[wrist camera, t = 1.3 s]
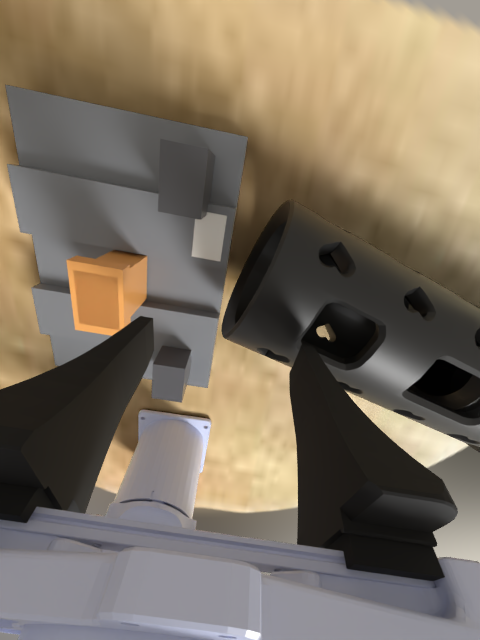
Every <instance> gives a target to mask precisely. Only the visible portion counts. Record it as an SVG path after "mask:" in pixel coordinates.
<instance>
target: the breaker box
mask: <svg viewBox="0 0 480 640" xmlns="http://www.w3.org/2000/svg"><path fill="white" fill-rule="evenodd" d="M5 86H6V92H7V97H8V103H9V109H10V114H11V120H12V125H13V131H14V137H15V142H16V148H17V153H18V159H19V165H12V164H7V167H8V172H9V177H10V182H11V187H12V192H13V197H14V203H15V208H16V213H17V218H18V223H19V228H20V232H22V233H28V234H32V237H33V243H34V249H35V254H36V260H37V265H38V271H39V277H40V282H41V283H40V284H38V285H36V286H34V287H32V288H31V289H32V294H33V299H34V304H35V309H36V314H37V319H38V324H39V329H40V334H47V335H50V338H51V344H52V349H53V355H54V360H55V365H57V366H61V365H63V364H65V363H67V362H69V361H71V360H73V359H75V358H77V357H78V356H80V355H82V354H84V353H86V352H87V351H89V350H91V349H92V348H94V347H95V346H97V345H99V344H100V343H102V342H103V341H105V340H106V339H108V338H109V337H111V336H110V335H104V334H98V333H92V332H85V331H79V330H75V325H74V317H73V309H72V301H71V293H70V285H69V277H68V269H67V261H66V260H67V259H70V258H72V257H75V256H82V257H88V258H94V259H96V258H98V257H100V256H102V255H104V254H106V253H108V252H110V251H112V250H117V251H123V252H128V253H134V254H139V255H145V256H147V299H146V300H145V301H144V302H143V303H142V305H141V306H140V307H139V308H138V309H137V310H136V311H135V313H134V314H133V315H132V316H131V322H132V321H134V320H135V319H137V318H138V317H139V316H144V317H150V318H153V328H154V352H153V354H152V357H151V360H150V362H149V365H148V367H147V370H146V371H145V373H144V375H143V377H142V378H144V379H151V380H152V398H155V399H161V400H168V401H175V402H182V400H183V396H184V393H185V389H186V386H187V385H191V386H198V387H204V388H208V383H209V377H210V371H211V365H212V359H213V353H214V347H215V340H216V334H217V328H218V322H219V316H220V309H221V303H222V297H223V291H224V285H225V278H226V272H227V266H228V260H229V254H230V247H231V241H232V235H233V229H234V223H235V216H236V210H237V204H238V198H239V192H240V186H241V179H242V173H243V167H244V161H245V155H246V148H247V142H248V137H246V136H241V135H236V134H232V133H227V132H222V131H218V130H213V129H208V128H204V127H199V126H195V125H190V124H185V123H181V122H176V121H171V120H167V119H162V118H158V117H153V116H148V115H144V114H139V113H134V112H130V111H125V110H121V109H116V108H111V107H107V106H102V105H97V104H93V103H88V102H84V101H79V100H74V99H70V98H65V97H60V96H56V95H51V94H47V93H42V92H37V91H33V90H28V89H23V88H19V87H14V86H9V85H5Z"/></svg>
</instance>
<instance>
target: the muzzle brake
mask: <svg viewBox="0 0 480 640" xmlns="http://www.w3.org/2000/svg"><path fill="white" fill-rule="evenodd" d="M322 325H325V327H326V329H327V332H328V334H329V337H330V340H329V341H328V339H327V338H326V337H319V336H318V334H317V332H316V329H317V327H319V326H322ZM222 335H223V337H224V338H225V339H227V340H230V341H232V342H234V343H236V344H239V345H241V346H243V347H246V348H248V349H250V350H253V351H255V352H257V353H260V354H262V355H265V356H267V357H269V358H271V359H273V360H276V361H278V362H280V363H283V364H285V365H287V366H289V367H293V364H294V362H295V359H296V357H297V355H298V352H299V350H300V347H301V345H306V346H311V347H314V348H315V349H316V351H317V352H318V354H319V355H320V357H321V358H322V360H323V361H324V363H325V364H326V366H327V367H328V369H329V370H330V372H331V373H332V374H333V376H334V377H335V379H336V380H337V381H338V383H339V384H340V385H341V387H342V388H343V389H344V390H345V391H347V392H349V393H352V394H354V395H356V396H359V397H361V398H363V399H366V400H368V401H370V402H372V403H375V404H377V405H379V406H382V407H384V408H386V409H389V410H391V411H394V412H396V413H398V414H400V415H402V416H405V417H407V418H409V419H412V420H414V421H416V422H419V423H421V424H423V425H426V426H428V427H430V428H432V429H435V430H437V431H439V432H442V433H444V434H447V435H449V436H451V437H453V438H455V439H458V440H460V441H462V442H465V443H466V444H468V445H469V446H471V447H472V448H473V449H475V450H476V451H478V452H480V308H479V307H477V306H475V305H473V304H471V303H469V302H467V301H465V300H464V299H462V298H461V297H459V296H458V295H456V294H455V293H453V292H452V291H450V290H448V289H446V288H445V287H443V286H441V285H439V284H438V283H436V282H434V281H433V280H431V279H429V278H427V277H426V276H424V275H422V274H420V273H419V272H416V271H414V270H412V269H410V268H408V267H406V266H405V265H403V264H401V263H400V262H398V261H397V260H395V259H394V258H392V257H391V256H389V255H388V254H386V253H384V252H382V251H381V250H379V249H377V248H375V247H374V246H372V245H370V244H369V243H367V242H365V241H363V240H362V239H360V238H358V237H356V236H355V235H353V234H351V233H349V232H347V231H345V230H342V229H341V228H339V227H338V226H336V225H334V224H332V223H330V222H328V221H327V220H325V219H324V218H322V217H321V216H320V215H318V214H317V213H315V212H313V211H311V210H310V209H308V208H306V207H305V206H303V205H301V204H299V203H298V202H296V201H294V200H288V201H286V202H285V203H283V204H282V205H281V206H280V207H279V209H278V210H277V211H276V212H275V214H274V215H273V216H272V218H271V219H270V221H269V222H268V224H267V225H266V227H265V228H264V230H263V232H262V233H261V235H260V237H259V239H258V240H257V242H256V244H255V246H254V248H253V250H252V252H251V254H250V256H249V257H248V259H247V261H246V263H245V265H244V267H243V269H242V272H241V274H240V276H239V278H238V280H237V283H236V285H235V287H234V290H233V292H232V295H231V297H230V300H229V303H228V305H227V308H226V311H225V315H224V318H223V323H222Z"/></svg>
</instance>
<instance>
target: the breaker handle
mask: <svg viewBox="0 0 480 640" xmlns="http://www.w3.org/2000/svg"><path fill="white" fill-rule="evenodd" d="M66 261H67V269H68V277H69V285H70V293H71V301H72V309H73V317H74V325H75V330H79V331H85V332H92V333H98V334H104V335H110V336H112V335H114V334H115V333H117V332H118V331H120V330H121V329H122V328H124V327H125V326H127V325H128V324H129V323H131V316H132V315H133V314H134V313H135V311H136V310H137V309H138V308H139V307H140V306H141V305H142V303H143V302H144V301H145V300H146V299H147V256H145V255H139V254H134V253H128V252H123V251H117V250H112V251H110V252H108V253H106V254H104V255H102V256H100V257H98V258H96V259H94V258H88V257H82V256H75V257H72V258H70V259H67V260H66Z"/></svg>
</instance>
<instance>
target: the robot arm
mask: <svg viewBox="0 0 480 640" xmlns="http://www.w3.org/2000/svg"><path fill="white" fill-rule="evenodd" d="M153 352H154V328H153V318H150V317H144V316H139V317H138V318H137V319H135V320H134V321H132V322H131V323H129V324H128V325H127V326H125V327H124V328H122V329H121V330H120V331H118V332H117V333H115V334H114V335H112V336H111V337H109V338H108V339H106V340H105V341H103V342H102V343H100V344H99V345H97V346H95V347H94V348H92V349H91V350H89V351H87V352H86V353H84V354H82V355H80V356H78V357H77V358H75V359H73V360H71V361H69V362H67V363H65V364H63V365H61V366H58V367H56V368H54V369H52V370H49V371H47V372H45V373H43V374H40V375H38V376H36V377H33V378H31V379H28V380H25V381H23V382H20V383H18V384H15V385H12V386H9V387H6V388H3V389H0V632H3V633H10V634H17V635H19V637H18V639H17V640H480V563H479V562H477V561H471V560H464V559H457V558H451V557H442V558H437V557H436V554H435V552H434V549H433V547H435V546H437V542H436V539H435V537H434V535H433V531H435V530H437V529H439V528H441V527H443V526H444V525H446V524H448V523H450V522H451V521H452V520H454V519H455V517H456V516H457V513H458V511H457V508H456V505H455V503H454V501H453V500H452V498H451V496H450V494H449V492H448V490H447V488H446V486H445V484H444V482H443V481H442V479H440V478H439V477H438V476H436V475H435V474H434V473H432V472H431V471H430V470H428V469H427V468H426V467H424V466H423V465H422V464H420V463H419V462H418V461H416V460H415V459H414V458H412V457H411V456H410V455H409V454H408V453H406V452H405V451H404V450H403V449H402V448H400V447H399V446H398V445H397V444H396V443H395V442H393V441H392V440H391V439H390V438H389V437H388V436H387V435H386V434H385V433H383V432H382V431H381V430H380V429H379V428H378V427H377V426H376V425H375V424H374V423H373V422H372V421H371V420H370V419H369V418H368V417H367V416H366V415H365V414H364V413H363V412H362V410H361V409H360V408H359V407H358V406H357V405H356V404H355V403H354V402H353V400H352V399H351V398H350V397H349V395H348V394H347V393H346V392H345V390H344V389H343V388H342V387H341V385H340V384H339V383H338V381H337V380H336V379H335V377H334V376H333V374H332V373H331V372H330V370H329V369H328V367H327V366H326V364H325V363H324V361H323V360H322V358H321V357H320V355H319V354H318V352H317V351H316V349H315V348H314V347H311V346H306V345H301V347H300V350H299V352H298V355H297V357H296V359H295V362H294V364H293V367H292V369H291V371H290V398H291V405H292V412H293V419H294V426H295V433H296V442H297V463H298V539H297V545H296V544H290V543H283V542H276V541H269V540H263V539H256V538H249V537H242V536H235V535H228V534H222V533H214V532H207V531H201V530H195V528H196V520H193V519H192V515H193V510H194V504H195V497H196V491H197V485H198V478H199V473H201V472H202V471H203V465H204V460H205V454H206V449H207V444H208V438H209V433H210V427H211V420H210V419H207V418H200V417H193V416H186V415H179V414H172V413H165V412H158V411H151V410H140V412H139V414H138V444H137V447H136V449H135V452H134V454H133V456H132V459H131V461H130V464H129V466H128V468H127V471H126V473H125V476H124V478H123V481H122V483H121V485H120V488H119V490H118V493H117V495H116V498H115V500H114V502H111V503H110V505H109V507H108V510H107V512H106V514H105V516H102V515H91V514H85V512H86V509H87V506H88V503H89V500H90V498H91V494H92V492H93V489H94V486H95V483H96V481H97V478H98V475H99V472H100V470H101V467H102V464H103V462H104V459H105V456H106V454H107V451H108V449H109V446H110V444H111V441H112V439H113V436H114V434H115V431H116V429H117V426H118V424H119V422H120V419H121V417H122V415H123V413H124V411H125V409H126V407H127V405H128V403H129V401H130V399H131V397H132V396H133V394H134V392H135V390H136V388H137V386H138V385H139V383H140V381H141V379H142V377H143V375H144V373H145V371H146V370H147V367H148V365H149V362H150V360H151V357H152V354H153ZM260 571H261V572H268V573H271V574H270V575H265V574H262V573H260Z"/></svg>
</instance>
